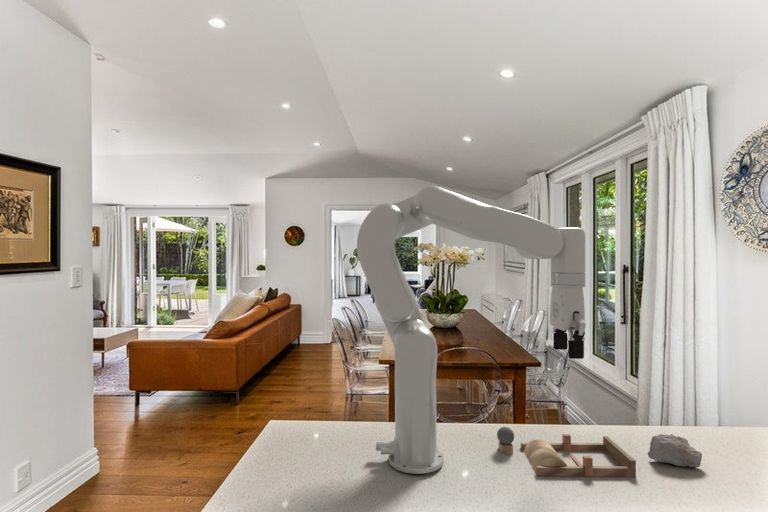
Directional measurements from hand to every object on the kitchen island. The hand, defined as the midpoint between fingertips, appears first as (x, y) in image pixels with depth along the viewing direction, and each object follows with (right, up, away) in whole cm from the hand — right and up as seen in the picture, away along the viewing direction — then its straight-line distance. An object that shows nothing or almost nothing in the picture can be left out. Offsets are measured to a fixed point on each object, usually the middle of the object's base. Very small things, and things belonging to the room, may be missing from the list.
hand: (567, 353), depth 104 cm
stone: (+18, -24, -2) cm, 31 cm away
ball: (-14, -23, +4) cm, 27 cm away
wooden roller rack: (+1, -30, -2) cm, 30 cm away
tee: (-14, -25, +4) cm, 29 cm away
